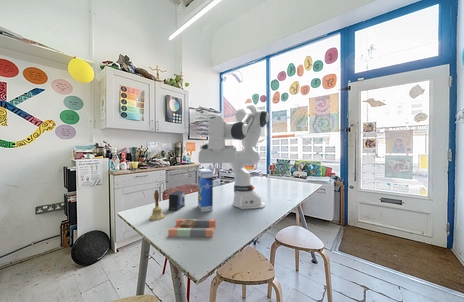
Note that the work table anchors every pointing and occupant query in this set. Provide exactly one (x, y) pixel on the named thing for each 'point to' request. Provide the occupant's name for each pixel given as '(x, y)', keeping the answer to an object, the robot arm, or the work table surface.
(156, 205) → the hand bell
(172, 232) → the multicolored rectangular frame
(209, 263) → the work table surface
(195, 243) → the work table surface
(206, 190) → the string lights box
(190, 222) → the walnut block
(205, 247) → the work table surface
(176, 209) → the small box
